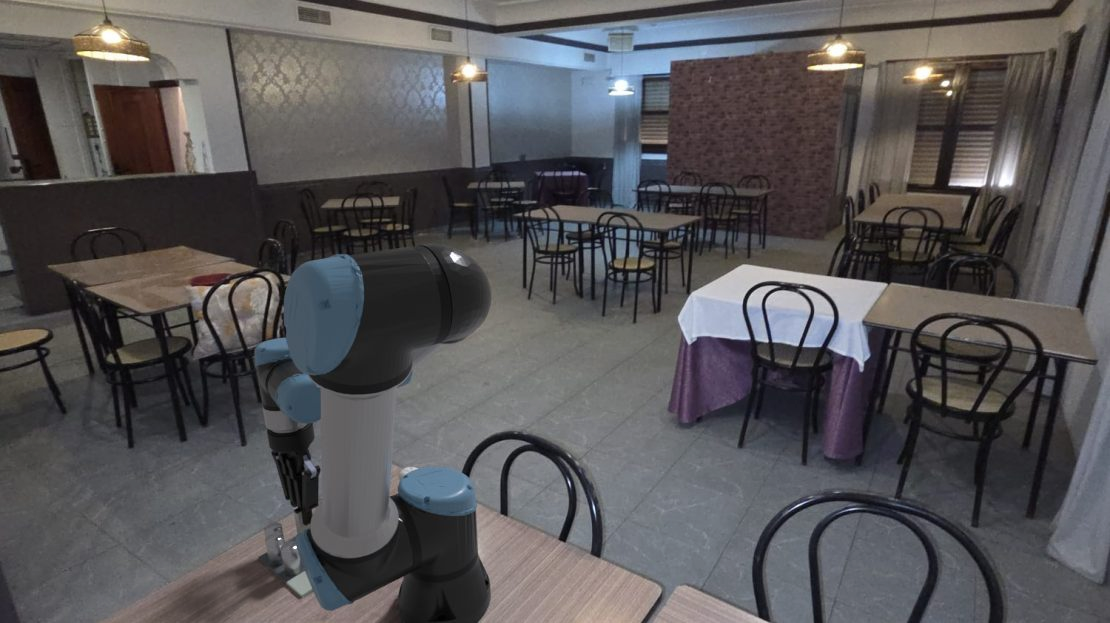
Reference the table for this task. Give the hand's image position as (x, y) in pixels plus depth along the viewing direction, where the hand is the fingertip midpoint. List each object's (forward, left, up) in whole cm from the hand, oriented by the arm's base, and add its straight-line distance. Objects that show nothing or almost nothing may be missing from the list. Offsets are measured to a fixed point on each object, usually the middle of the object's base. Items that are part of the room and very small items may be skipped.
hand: (306, 535), depth 111 cm
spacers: (-2, 0, -1) cm, 2 cm away
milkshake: (-7, -20, -2) cm, 21 cm away
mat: (-4, 0, -2) cm, 5 cm away
